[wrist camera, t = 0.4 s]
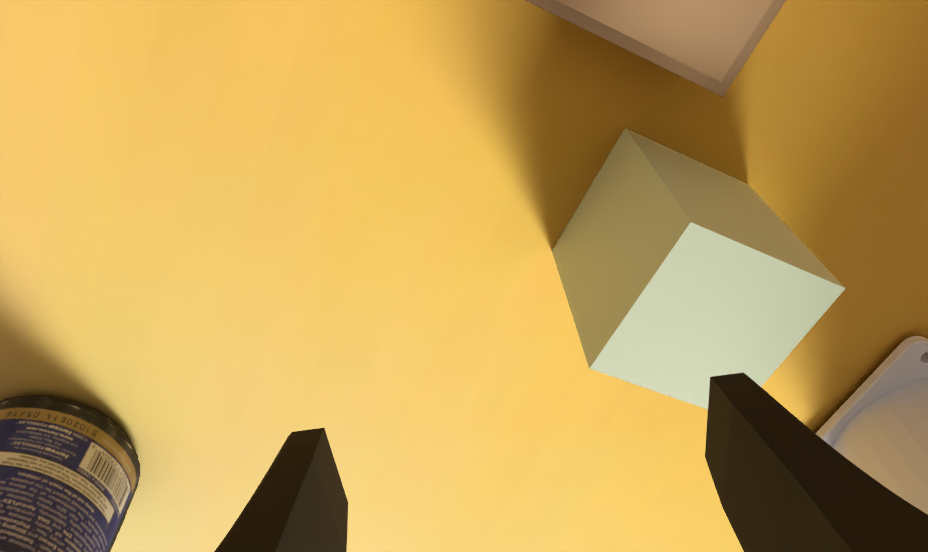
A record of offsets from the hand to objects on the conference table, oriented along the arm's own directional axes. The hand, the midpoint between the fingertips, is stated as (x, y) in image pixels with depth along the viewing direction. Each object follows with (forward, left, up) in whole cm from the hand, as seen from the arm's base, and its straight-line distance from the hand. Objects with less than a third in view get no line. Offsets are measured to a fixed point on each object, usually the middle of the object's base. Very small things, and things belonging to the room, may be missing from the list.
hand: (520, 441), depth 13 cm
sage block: (-5, -2, -10) cm, 11 cm away
